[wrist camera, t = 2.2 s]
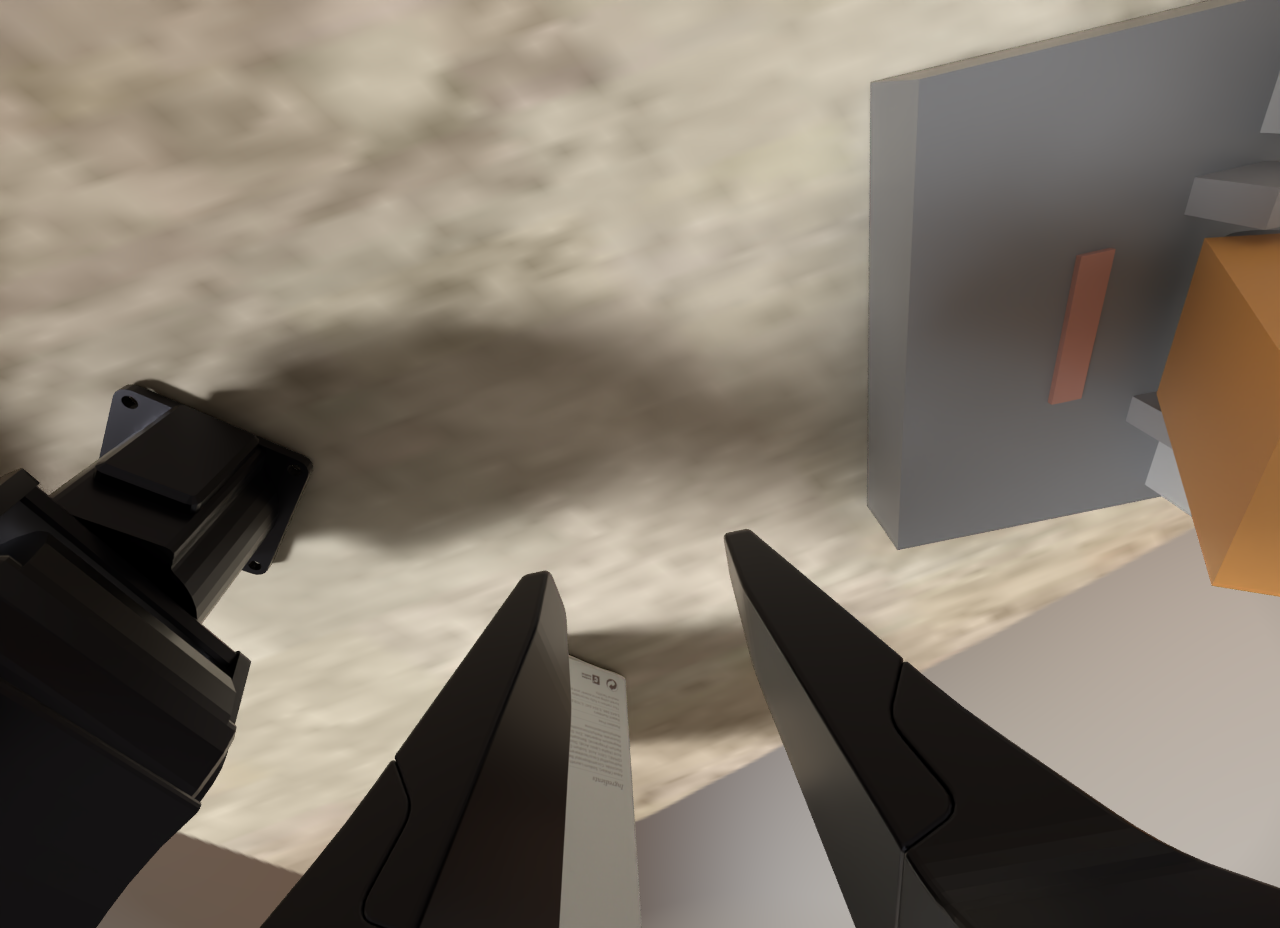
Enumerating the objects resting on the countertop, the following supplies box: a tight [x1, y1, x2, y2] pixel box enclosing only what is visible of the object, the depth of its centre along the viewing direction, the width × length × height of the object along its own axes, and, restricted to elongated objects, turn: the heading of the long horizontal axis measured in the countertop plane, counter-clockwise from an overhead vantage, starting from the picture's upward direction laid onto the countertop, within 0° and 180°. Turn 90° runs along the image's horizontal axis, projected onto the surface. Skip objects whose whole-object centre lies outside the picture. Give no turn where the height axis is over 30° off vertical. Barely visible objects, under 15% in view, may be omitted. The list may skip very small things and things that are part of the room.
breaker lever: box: [1157, 230, 1280, 597], centre depth 14 cm, size 2×5×10 cm
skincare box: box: [559, 655, 642, 928], centre depth 25 cm, size 8×6×15 cm
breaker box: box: [867, 0, 1280, 550], centre depth 19 cm, size 14×16×5 cm
